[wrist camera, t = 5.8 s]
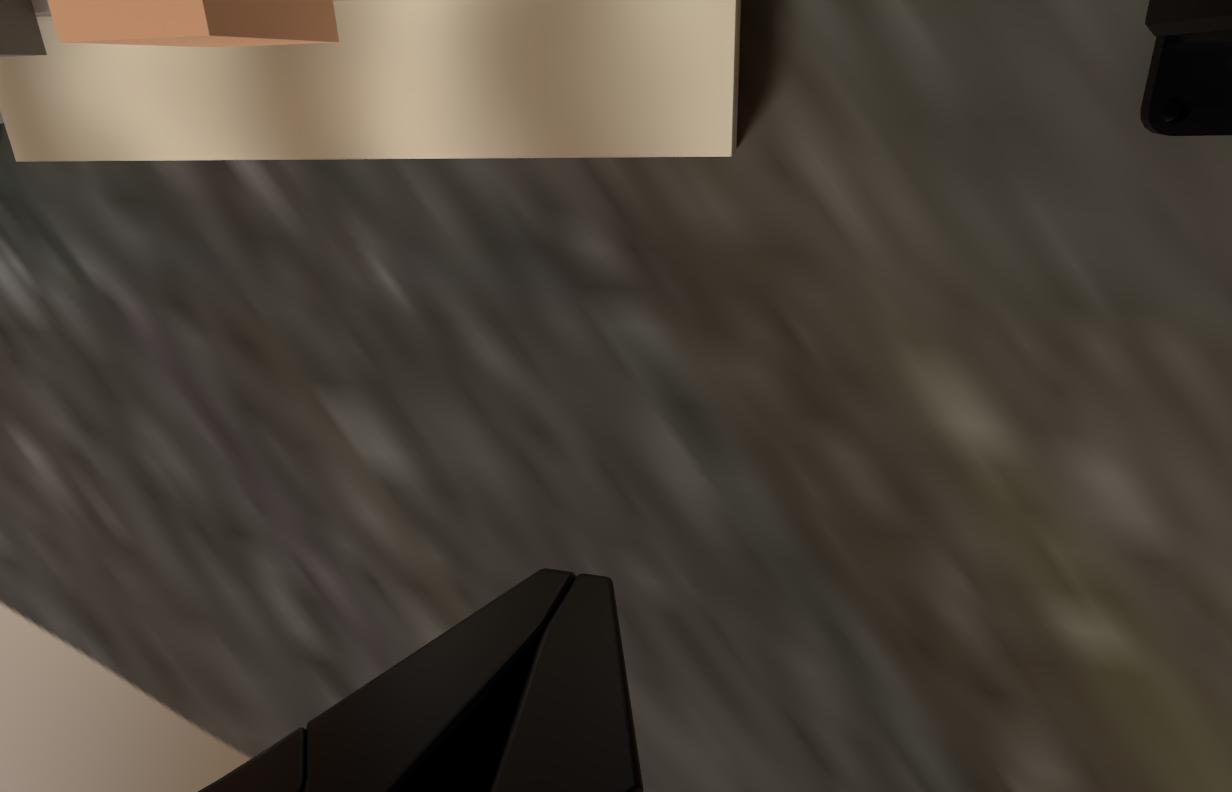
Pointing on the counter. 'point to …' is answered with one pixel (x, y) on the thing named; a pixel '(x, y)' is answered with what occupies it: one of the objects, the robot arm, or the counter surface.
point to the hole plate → (389, 86)
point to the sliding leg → (195, 22)
